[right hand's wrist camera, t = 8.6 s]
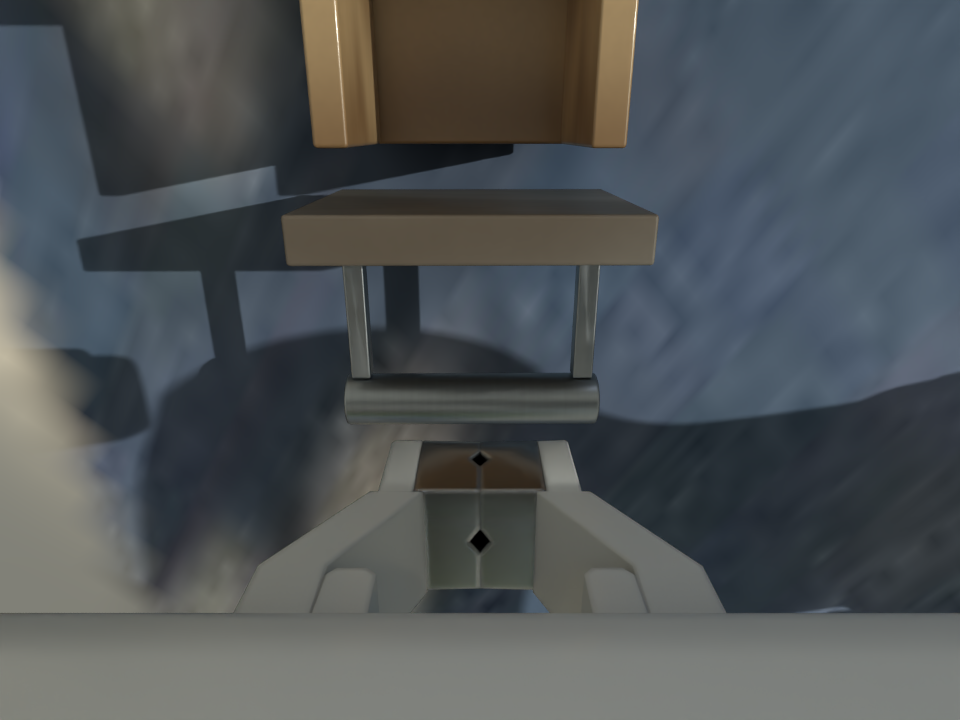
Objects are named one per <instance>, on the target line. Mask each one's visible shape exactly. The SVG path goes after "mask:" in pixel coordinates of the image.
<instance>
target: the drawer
mask: <svg viewBox="0 0 960 720" xmlns="http://www.w3.org/2000/svg"><path fill="white" fill-rule="evenodd" d="M638 1H639V0H299V3H300V13H301V24H302V34H303V44H304V55H305V65H306V75H307V86H308V96H309V106H310V117H311V127H312V137H313V145H314V147H316V148H350V147H358V146H366V145H374V144H568V145H576V146H583V147H590V148H624V147H625V146H626V144H627V132H628V120H629V108H630V96H631V84H632V72H633V61H634V49H635V37H636V25H637V13H638ZM658 221H659V217H658V215H656V214H654V213H652V212H650V211H648V210H645V209H643V208H641V207H639V206H637V205H634V204H632V203H630V202H628V201H626V200H623V199H621V198H619V197H617V196H615V195H612V194H610V193H608V192H606V191H604V190H601V189H343V190H340V191H337V192H335V193H333V194H331V195H328V196H326V197H324V198H321V199H319V200H317V201H315V202H312V203H310V204H308V205H305V206H303V207H301V208H298V209H296V210H294V211H292V212H289V213H287V214H285V215H282V217H281V223H282V231H283V240H284V248H285V256H286V263H287V265H289V266H342V269H343V280H344V292H345V304H346V315H347V327H348V339H349V350H350V362H351V373H352V374H350V375H348V377H347V380H346V383H345V390H344V410H345V416H346V420H347V422H348V423H349V424H546V423H595V422H596V421H597V418H598V414H599V406H600V394H599V384H598V380H597V377H596V375H595V374H594V373H592V369H593V356H594V342H595V329H596V315H597V302H598V288H599V275H600V265H652V264H653V263H654V258H655V249H656V240H657V231H658ZM534 265H576V279H575V296H574V313H573V330H572V346H571V363H570V371H571V373H410V374H372V373H373V371H374V369H373V355H372V341H371V327H370V313H369V299H368V285H367V271H366V266H534Z"/></svg>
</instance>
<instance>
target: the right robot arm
mask: <svg viewBox="0 0 960 720" xmlns="http://www.w3.org/2000/svg"><path fill="white" fill-rule="evenodd" d="M470 588H488V589H525V590H533V593H534V594H535V595H536V596H537V598H538V599H539V600H540V601H541V603H542V604H543V605H544V606H545V607H546V609H547V610H548V611H549V612H550V613H411V612H412V610H413V609H414V608H415V607H416V605H417V604H418V603H419V602H420V601H421V599H422V598H423V597H424V596H425V595H426V593H427V590H434V589H470ZM0 720H960V613H726V611H725V609H724V607H723V605H722V603H721V601H720V599H719V597H718V595H717V593H716V591H715V589H714V588H713V586H712V584H711V582H710V580H709V578H708V576H707V574H706V572H705V570H704V568H703V566H702V565H700V564H699V563H697V562H696V561H694V560H693V559H691V558H690V557H688V556H687V555H685V554H684V553H682V552H681V551H679V550H678V549H676V548H675V547H673V546H672V545H670V544H668V543H667V542H665V541H664V540H662V539H661V538H659V537H658V536H656V535H655V534H653V533H652V532H650V531H649V530H647V529H646V528H644V527H643V526H641V525H640V524H638V523H637V522H635V521H634V520H632V519H631V518H629V517H628V516H626V515H625V514H623V513H622V512H620V511H619V510H617V509H616V508H614V507H613V506H611V505H610V504H608V503H607V502H605V501H604V500H602V499H601V498H599V497H598V496H596V495H595V494H593V493H592V492H590V491H582V490H581V487H580V483H579V480H578V476H577V473H576V469H575V466H574V462H573V459H572V455H571V452H570V448H569V445H568V442H567V441H565V440H553V441H503V442H465V441H422V440H406V441H394V442H393V443H392V444H391V448H390V451H389V455H388V458H387V462H386V466H385V469H384V473H383V476H382V480H381V483H380V487H379V490H378V491H370V492H368V493H367V494H365V495H364V496H362V497H361V498H359V499H358V500H356V501H355V502H353V503H352V504H350V505H349V506H347V507H346V508H344V509H343V510H341V511H340V512H338V513H337V514H335V515H334V516H332V517H331V518H329V519H328V520H326V521H324V522H323V523H321V524H320V525H318V526H317V527H315V528H314V529H312V530H311V531H309V532H308V533H306V534H305V535H303V536H302V537H300V538H299V539H297V540H296V541H294V542H293V543H291V544H290V545H288V546H287V547H285V548H284V549H282V550H281V551H279V552H278V553H276V554H274V555H273V556H271V557H270V558H268V559H267V560H265V561H264V562H262V563H261V564H259V565H258V566H257V568H256V570H255V572H254V574H253V576H252V578H251V580H250V582H249V584H248V586H247V588H246V590H245V592H244V594H243V596H242V598H241V600H240V601H239V603H238V605H237V607H236V609H235V611H234V613H0Z"/></svg>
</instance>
